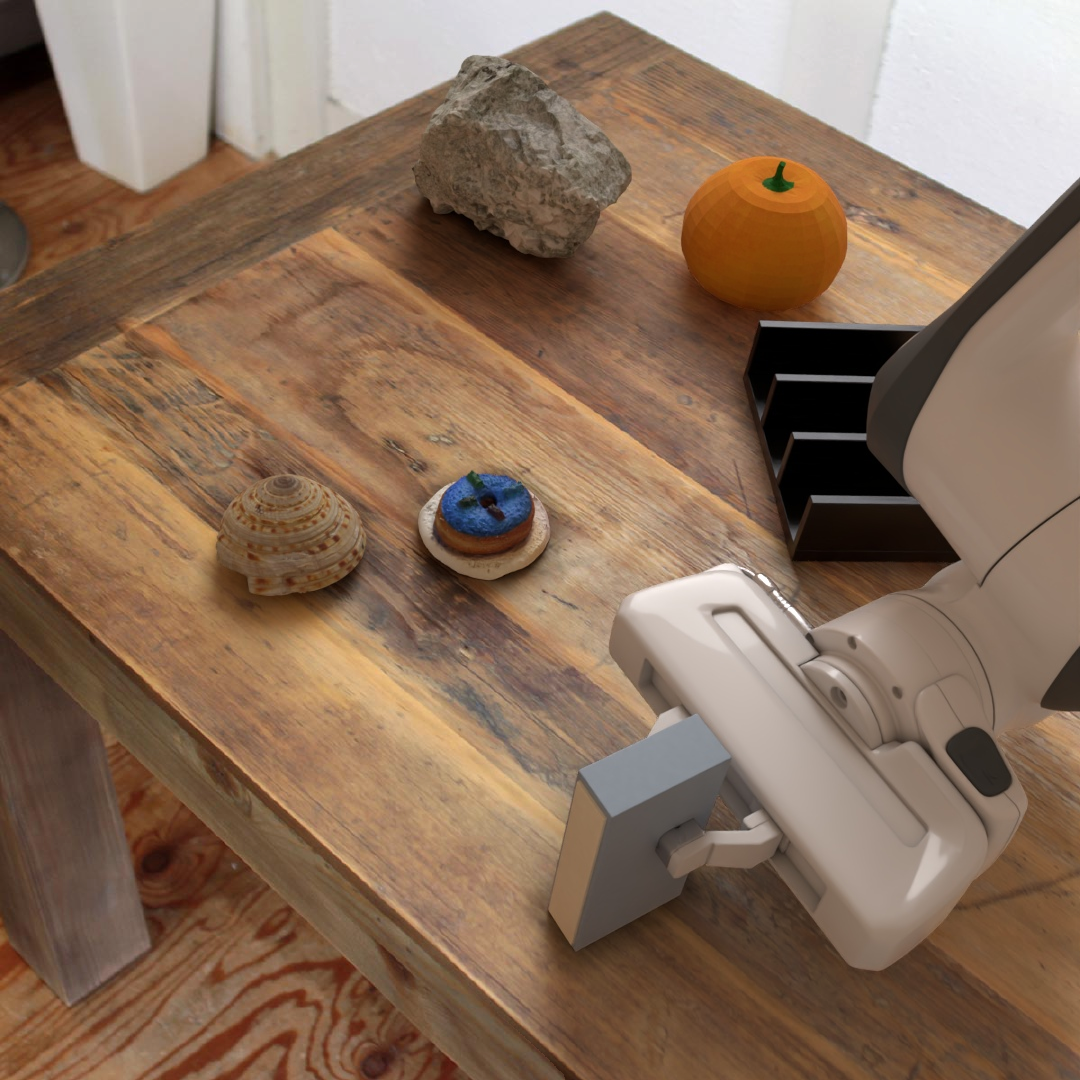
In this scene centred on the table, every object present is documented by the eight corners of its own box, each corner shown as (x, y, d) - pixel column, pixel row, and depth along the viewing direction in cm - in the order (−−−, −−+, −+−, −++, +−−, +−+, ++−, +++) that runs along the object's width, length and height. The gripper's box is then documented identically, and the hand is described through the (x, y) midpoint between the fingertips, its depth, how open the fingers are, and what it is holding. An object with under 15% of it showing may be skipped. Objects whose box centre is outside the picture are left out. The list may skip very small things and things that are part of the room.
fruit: (844, 338, 94) (885, 217, 86) (679, 326, 93) (706, 203, 85) (818, 239, 102) (854, 121, 94) (666, 227, 101) (690, 107, 93)
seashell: (191, 577, 71) (226, 440, 73) (212, 607, 76) (244, 478, 79) (343, 601, 71) (373, 463, 73) (354, 630, 76) (381, 500, 79)
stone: (577, 237, 88) (389, 126, 90) (569, 317, 100) (404, 217, 102) (652, 131, 90) (467, 25, 92) (636, 221, 102) (473, 125, 104)
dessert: (469, 596, 74) (445, 493, 72) (411, 579, 79) (387, 483, 77) (583, 548, 78) (562, 451, 76) (520, 536, 83) (500, 444, 81)
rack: (913, 383, 91) (936, 325, 88) (984, 563, 80) (1014, 506, 77) (742, 378, 90) (758, 319, 86) (791, 561, 79) (812, 503, 75)
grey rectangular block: (680, 895, 64) (732, 757, 55) (572, 954, 61) (608, 820, 52) (651, 853, 65) (697, 712, 56) (544, 909, 62) (574, 771, 54)
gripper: (760, 513, 67) (523, 610, 61) (1057, 834, 56) (803, 989, 50) (733, 593, 71) (512, 691, 66) (1003, 904, 60) (765, 1054, 55)
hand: (640, 823), depth 58 cm, fingers closed on grey rectangular block, 2 cm apart
